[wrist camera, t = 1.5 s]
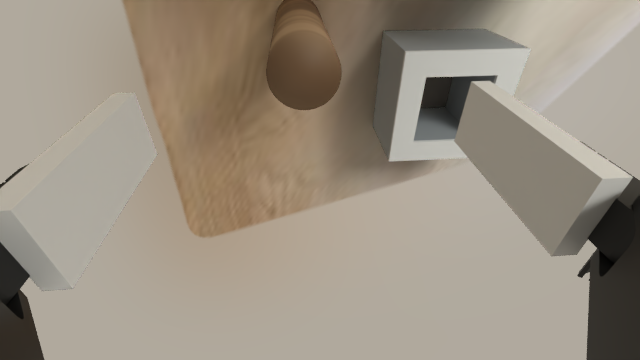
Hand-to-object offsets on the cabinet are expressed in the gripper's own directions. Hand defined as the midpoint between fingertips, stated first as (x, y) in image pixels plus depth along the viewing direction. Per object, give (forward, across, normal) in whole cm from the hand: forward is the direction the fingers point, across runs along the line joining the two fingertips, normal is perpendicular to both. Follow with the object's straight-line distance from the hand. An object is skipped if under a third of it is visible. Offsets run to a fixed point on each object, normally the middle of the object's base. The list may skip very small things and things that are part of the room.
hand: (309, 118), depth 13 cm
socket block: (+20, +13, -6) cm, 25 cm away
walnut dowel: (+20, 0, 0) cm, 20 cm away
